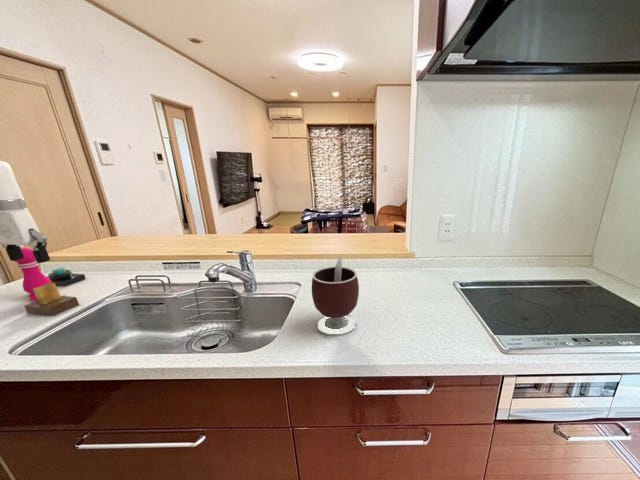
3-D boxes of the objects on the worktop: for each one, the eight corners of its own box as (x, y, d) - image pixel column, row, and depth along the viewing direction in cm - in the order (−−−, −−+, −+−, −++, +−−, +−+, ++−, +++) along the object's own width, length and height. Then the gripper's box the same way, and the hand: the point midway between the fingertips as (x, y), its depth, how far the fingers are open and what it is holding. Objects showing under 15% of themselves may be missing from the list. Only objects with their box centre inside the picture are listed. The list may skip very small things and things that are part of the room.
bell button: (51, 275, 118) (49, 270, 117) (61, 271, 121) (59, 267, 121) (58, 275, 118) (57, 271, 117) (68, 272, 121) (67, 268, 120)
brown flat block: (25, 314, 96) (21, 305, 95) (56, 301, 105) (53, 293, 103) (51, 317, 95) (47, 308, 94) (81, 303, 103) (77, 295, 102)
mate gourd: (354, 339, 85) (354, 275, 77) (308, 335, 86) (303, 272, 79) (362, 313, 99) (362, 256, 92) (322, 310, 101) (319, 254, 93)
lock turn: (44, 304, 96) (36, 288, 94) (39, 304, 96) (32, 288, 94) (61, 297, 101) (54, 282, 99) (56, 297, 101) (50, 282, 99)
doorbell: (39, 284, 118) (35, 275, 116) (61, 277, 125) (58, 268, 124) (65, 286, 116) (61, 277, 115) (86, 279, 124) (82, 270, 122)
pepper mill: (24, 299, 106) (-2, 245, 98) (50, 291, 112) (27, 240, 105) (35, 302, 104) (9, 248, 96) (61, 294, 110) (38, 242, 102)
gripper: (-35, 206, 84) (-8, 262, 91) (16, 209, 82) (40, 266, 89) (-1, 202, 91) (22, 255, 98) (47, 205, 89) (67, 258, 95)
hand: (30, 260), depth 93 cm, fingers open, 9 cm apart
